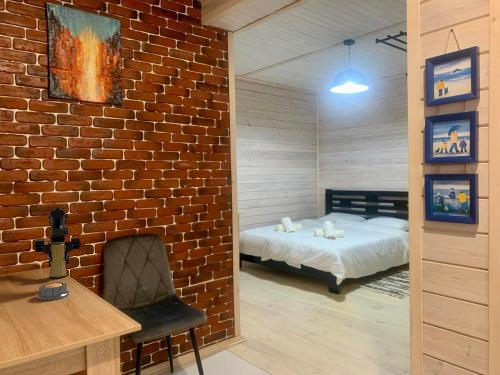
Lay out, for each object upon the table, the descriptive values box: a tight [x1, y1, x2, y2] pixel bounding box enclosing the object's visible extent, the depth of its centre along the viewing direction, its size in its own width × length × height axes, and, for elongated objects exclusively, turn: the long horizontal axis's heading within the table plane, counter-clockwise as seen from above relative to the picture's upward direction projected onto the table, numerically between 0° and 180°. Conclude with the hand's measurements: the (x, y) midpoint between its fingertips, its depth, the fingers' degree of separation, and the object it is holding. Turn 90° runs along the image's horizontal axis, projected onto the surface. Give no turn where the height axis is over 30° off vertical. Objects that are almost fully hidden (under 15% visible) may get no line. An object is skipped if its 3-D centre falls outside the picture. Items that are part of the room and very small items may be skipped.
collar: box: [36, 281, 70, 302], centre depth 160 cm, size 12×12×4 cm
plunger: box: [44, 282, 62, 288], centre depth 160 cm, size 7×7×1 cm
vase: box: [50, 243, 67, 277], centre depth 171 cm, size 6×6×14 cm
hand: (58, 260), depth 170 cm, fingers closed on vase, 5 cm apart
